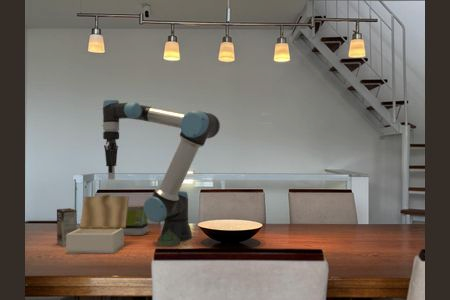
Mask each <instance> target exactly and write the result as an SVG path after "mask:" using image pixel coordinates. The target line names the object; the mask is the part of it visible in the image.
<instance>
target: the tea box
mask: <svg viewBox="0 0 450 300" xmlns="http://www.w3.org/2000/svg"><path fill="white" fill-rule="evenodd" d="M148 226H149V225H148V218H147V217H146V215H145V212H144V204H128V211H127V220H126V228H124V236H143V235H145V234H146V233H147V232H148Z"/></svg>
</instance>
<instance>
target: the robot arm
mask: <svg viewBox="0 0 450 300" xmlns="http://www.w3.org/2000/svg"><path fill="white" fill-rule="evenodd" d="M102 102H103V104H102V117H103V120H102V121H103V122H102V128H103V132H102V133H103V134H102V138H103V140H106V141H105V144H104V145H103V147H104V153H105V154H104V155H105V156H104V157H105V164H106V167H108V168H107V176H108V177H107V179H108V181H109V180H113V181H114V180H116V179H115V177H116V175H115V172H116V171H115V169H116V167H117V159H118V148H119V146H118V145H117V140H120V120H121V119H123V120H124V119H129V120H137V121H144V122H149V123H154V124H158V125H164V126H168V127H173V128H178V129H180V133H179V138H180V141H179V143H178V146H177V148H176V150H175V152H174V155H173V157H172V159H171V161H170V163H169V166H168V168H167V171H166V172H165V174H164V177H163V179H162V182H161V184H160V185H159V186H158V187H155V189H154V191H153V193H152V196H149V197H148V198H146V200H145V201H144V204H143V205H144V212H145V215H146V217H147V220H149V221H151V222H152V223H162V222H163V226H162V230H161V232H160V235H164V234H165V233H166V231H168V229H169V231H171V232H172V233H174V234H175V235H176V236H177V237H178V238H180V242H182V241H187V240H188V241H189V240H190V239H192V237H193V233H192V228H191V226H190V224H189V197H188V194H189V193H188V192H186V191H180V189H181V187H182V185H183V184H184V182H185V181H184V180H185V178H186V176H187V174H188V172H189V171H190V168H191V165H192V164H193V161H194V159H195V157H196V154H197V153H198V151H199V148H202V147H203V146H204V145H205V143H206V141H207V140H208V139H212V138H214V137H216V136H217V135H218V134H219V132H220V129H221V125H220V124H221V123H220V120H219V118H218V117H217V116H216V115H214V114H213V113H210V112H209V113H208V112H204V111H201V110H191V111H188V112H186V113H185V112H179V111H174V110H170V109H169V110H168V109H163V108H157V107H153V106H147V105H143V104H139V103H138V102H136V101H135V102H134V101H133V102H132V101H129V102H121V103H120V101H119V100H118V99H113V98H111V99H109V98H107V99H104V100H103V101H102Z"/></svg>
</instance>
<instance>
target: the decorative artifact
mask: <svg viewBox="0 0 450 300" xmlns="http://www.w3.org/2000/svg"><path fill="white" fill-rule="evenodd" d="M180 242H181V241H180V238H178V237H177V236H176V235H175V234H174V233H172V232H171V231H169V229H168V231H166V233H165V234H164V235H161V234H160V235H159V238H158V239H157V246H158V247H161V248H171V247H172V248H173V247H177V246H179V245H180V244H181V243H180Z"/></svg>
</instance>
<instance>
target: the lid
mask: <svg viewBox="0 0 450 300" xmlns="http://www.w3.org/2000/svg"><path fill="white" fill-rule="evenodd" d="M129 201H130V196H129V195H128V196H127V195H126V196H123V195H122V196H121V195H120V196H119V195H118V196H117V195H115V196H112V195H110V194H102V196H84V199H83V205H82V209H81V211H82V212H81V217H80V223H79V229H120V228H123V229H124V228H126V220H127V211H128V205H129Z"/></svg>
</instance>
